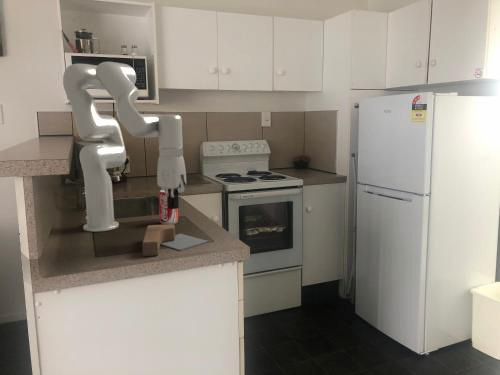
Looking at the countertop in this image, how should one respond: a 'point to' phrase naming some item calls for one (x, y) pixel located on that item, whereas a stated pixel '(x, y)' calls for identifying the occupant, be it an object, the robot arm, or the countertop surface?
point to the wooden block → (157, 238)
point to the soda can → (166, 210)
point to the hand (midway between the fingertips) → (173, 208)
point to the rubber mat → (183, 242)
